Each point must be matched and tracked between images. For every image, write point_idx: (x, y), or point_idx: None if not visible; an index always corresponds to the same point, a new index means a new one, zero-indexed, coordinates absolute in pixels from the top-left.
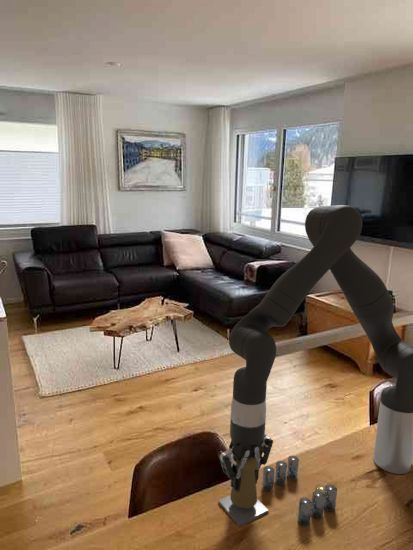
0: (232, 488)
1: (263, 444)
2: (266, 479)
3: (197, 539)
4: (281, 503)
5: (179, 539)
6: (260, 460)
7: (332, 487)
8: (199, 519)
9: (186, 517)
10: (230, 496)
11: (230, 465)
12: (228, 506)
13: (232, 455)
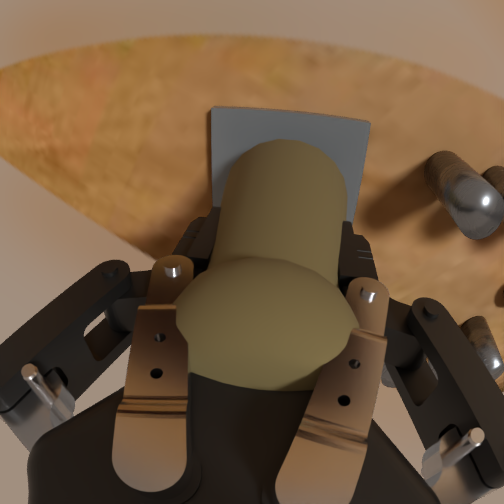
0: (225, 193)
1: (425, 473)
2: (444, 203)
3: (88, 200)
4: (412, 250)
5: (51, 175)
6: (388, 360)
7: (495, 373)
8: (115, 140)
9: (84, 113)
10: (239, 157)
11: (79, 390)
12: (228, 156)
13: (133, 346)
